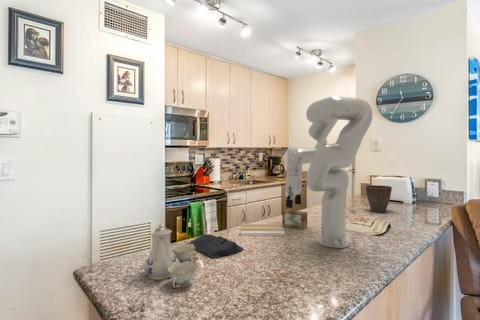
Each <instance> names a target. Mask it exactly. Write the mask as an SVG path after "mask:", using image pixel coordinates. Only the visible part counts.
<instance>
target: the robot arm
mask: <svg viewBox="0 0 480 320" xmlns="http://www.w3.org/2000/svg"><path fill="white" fill-rule="evenodd" d="M372 109H373V108H372V105H371V104H370V103H369V102H368V101H367V100H364V99H362V98H360V97H359V98H358V97H352V96H351V97H350V96H337V95H332V96H328V97H325V98H322V99H319V100H317V101H313V102H311V104H310V105H308V107H307V109H306V113H305V114H306V119H307V120H308V121H309V122H310V123H311V125H310V126H309V128H308V134H309V136H310V138H312V139H313V140H315V141H316V144H315V145H314V147H299V148H298V147H296V148H295V147H294V148H293V147H290V148H288V149H287V153H286V154H287V155H286V158H287V159H286V178H285V189H284V191H285V192H284V194H285V201H286V202H285V203H286V205H285V207H286V208H290V209H292V208H293V205H294V204H295V205H302V193H303V185H302V184H303V183H302V176H303V164H310V165H309V167H308V170H307V174H306V177H305V178H306V179H305V180H306V186H307V187H308V189H309V190H310V191H312V192H324V193H323V196H322V198H321V236H320V237H318V238H317V244H319V245H321V246H323V247H326V248H333V249H345V248H348V247H349V246H350V243H351V242H350V240H348V239H347V237H346V236H347V235H346V234H347V233H346V232H347V231H346V215H347V195H348V194H347V193H348V187H349V183H350V181H349V179H350V178H349V174H348V172H347V171H346V170H345V168H349V167H351V165H353V163H354V160H355V158H356V155H357V154H358V151H359V149H360V147H361V144H362V141H363V139H364V137H365V135H366V133H367V132H368V130H369V128H370V126H371V124H372V121H373V110H372ZM338 120H339V121H340V120H341V121H343V120H344V121H348V123H346V124H345V126H343V128H342V129H341V130H340V132H339V135H338V137H337V139H336V141H335V143H328V141H327V138H328V136H329V134H331V133H330V132H331V131H332V130H333V128H334V127H335V125H336V124H337V122H338ZM293 197H294V200H293ZM293 201H294V202H293ZM293 203H294V204H293Z"/></svg>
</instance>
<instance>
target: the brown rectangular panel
mask: <svg viewBox="0 0 480 320" xmlns="http://www.w3.org/2000/svg"><path fill="white" fill-rule="evenodd" d="M281 215H282V217H281V219H282V221H281V224H282V227H287V228H292V229H297V230H298V229H299V230H307V228H308V212H307V211H301V210H293V209H284V210H282V212H281Z"/></svg>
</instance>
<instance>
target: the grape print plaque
mask: <svg viewBox="0 0 480 320" xmlns="http://www.w3.org/2000/svg"><path fill="white" fill-rule="evenodd" d="M391 224H392V223H391V222H389V221H386V220H383V219H381V218H377V217H373V216H372V217H371V216H367V215H359V214H358V215H356V214H346V232H350V233H356V234H363V235H367V234H368V235H367V236H378V235H380V234H381V235H382V234H383V233H384V232H386V231H387V228H388V227H389V226H391Z"/></svg>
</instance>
